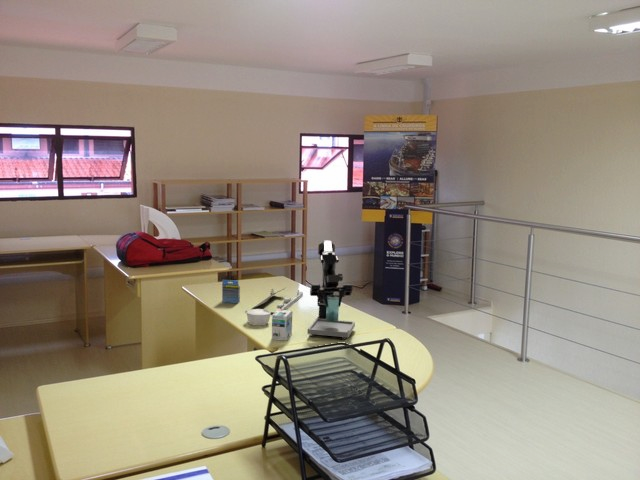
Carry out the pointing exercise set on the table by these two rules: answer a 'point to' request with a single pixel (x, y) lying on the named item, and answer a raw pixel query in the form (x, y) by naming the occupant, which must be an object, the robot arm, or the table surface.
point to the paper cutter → (286, 300)
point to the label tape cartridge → (230, 291)
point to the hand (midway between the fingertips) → (333, 306)
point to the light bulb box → (281, 324)
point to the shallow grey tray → (331, 328)
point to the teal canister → (332, 308)
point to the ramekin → (258, 316)
